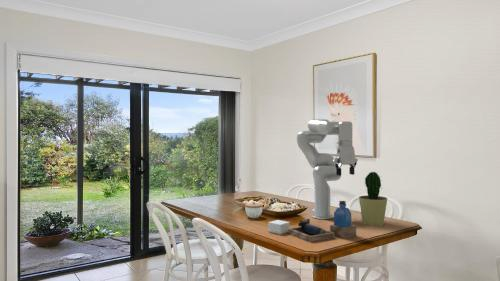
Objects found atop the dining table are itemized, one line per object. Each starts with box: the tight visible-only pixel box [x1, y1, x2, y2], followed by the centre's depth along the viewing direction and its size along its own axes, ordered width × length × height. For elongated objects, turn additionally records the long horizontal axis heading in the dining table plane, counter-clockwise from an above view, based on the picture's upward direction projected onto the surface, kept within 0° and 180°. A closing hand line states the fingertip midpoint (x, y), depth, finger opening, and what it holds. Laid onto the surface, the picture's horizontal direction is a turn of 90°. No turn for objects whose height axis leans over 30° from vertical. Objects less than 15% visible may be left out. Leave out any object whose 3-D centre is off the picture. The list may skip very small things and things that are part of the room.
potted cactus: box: [358, 171, 388, 227], centre depth 208 cm, size 15×15×30 cm
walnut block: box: [329, 224, 357, 240], centre depth 182 cm, size 9×9×5 cm
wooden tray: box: [287, 226, 336, 243], centre depth 183 cm, size 18×15×2 cm
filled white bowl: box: [244, 201, 263, 219], centre depth 226 cm, size 11×11×9 cm
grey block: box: [267, 219, 291, 235], centre depth 191 cm, size 8×8×5 cm
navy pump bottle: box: [298, 218, 324, 236], centre depth 185 cm, size 9×8×12 cm
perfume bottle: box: [333, 200, 352, 227], centre depth 183 cm, size 6×6×12 cm
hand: (345, 174), depth 202 cm, fingers open, 9 cm apart
